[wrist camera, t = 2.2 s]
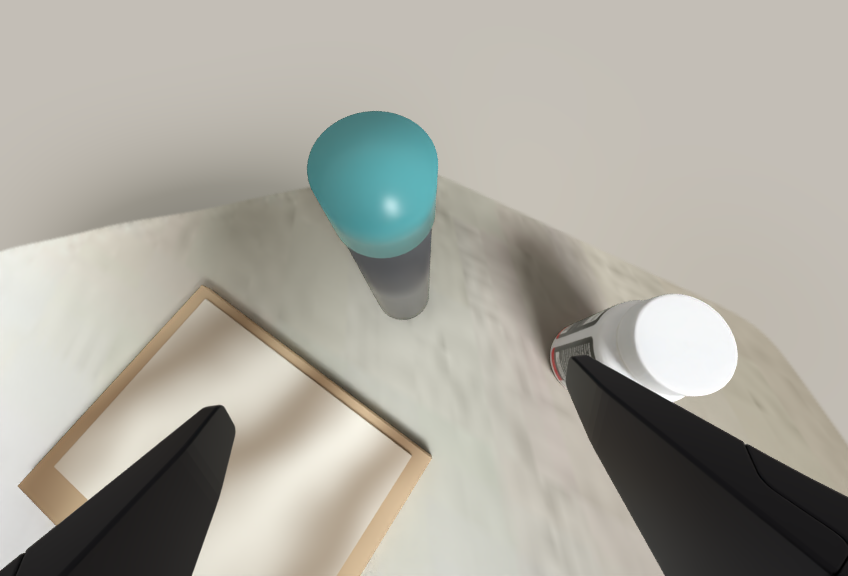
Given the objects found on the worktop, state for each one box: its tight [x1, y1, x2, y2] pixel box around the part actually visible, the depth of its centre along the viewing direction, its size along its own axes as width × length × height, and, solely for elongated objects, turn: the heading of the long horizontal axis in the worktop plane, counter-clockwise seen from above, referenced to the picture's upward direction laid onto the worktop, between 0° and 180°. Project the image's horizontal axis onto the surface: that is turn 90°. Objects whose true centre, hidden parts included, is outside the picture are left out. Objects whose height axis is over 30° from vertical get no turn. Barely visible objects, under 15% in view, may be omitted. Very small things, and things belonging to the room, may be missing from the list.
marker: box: [307, 111, 438, 320], centre depth 16 cm, size 4×4×14 cm
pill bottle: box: [550, 294, 738, 402], centre depth 17 cm, size 5×5×8 cm
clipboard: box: [18, 285, 432, 576], centre depth 18 cm, size 18×14×2 cm
